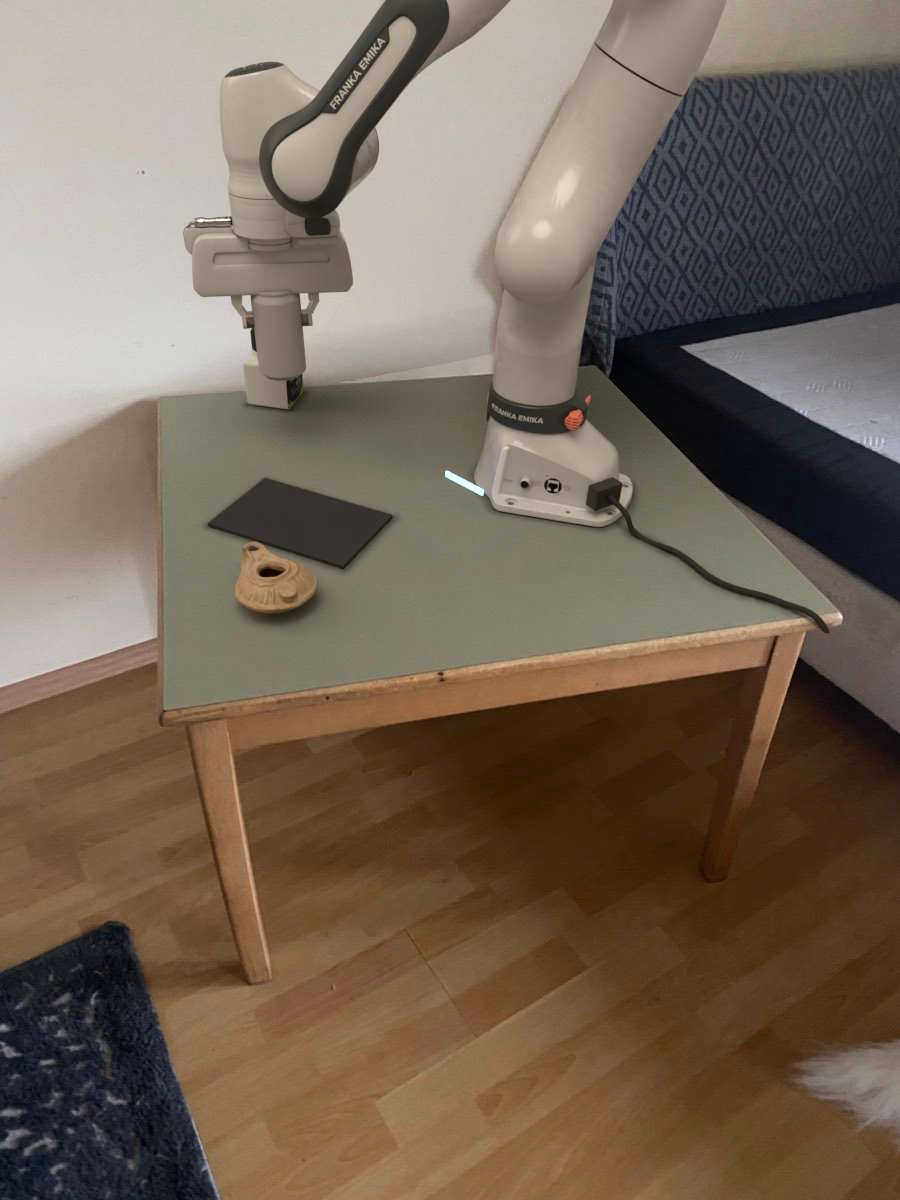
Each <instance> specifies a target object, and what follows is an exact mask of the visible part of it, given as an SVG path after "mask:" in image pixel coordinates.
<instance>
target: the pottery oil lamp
mask: <svg viewBox="0 0 900 1200" xmlns="http://www.w3.org/2000/svg"><path fill="white" fill-rule="evenodd" d="M239 562H240V569H239V570H240V571H239V576H238V579H237V581H236V583H235V585H234V598H235V600H237V602H238V603H239V604H240V605H241V606H243V607H245V608H246V609H248V610H251V611H254V612H256V613H261V614H262V613H263V614H280V613H281V614H282V613H285V612H288V611H291V610H293V609H294V610H295V609H296V608H299V607H300V606H303V605H304V604H305V603H307V602H308V601H309V600H310V599H311V598H312V597H314V595H315V594H316V592H317V588H318V582H319V581H318V579H317V576H316V575H315V573H312V572H311V571H310V570H309V569H307V568H306V567H304V566H303V565H302V564H300V563H298V562H295V561H293V560H290V559H288V558H284V557H280V556H277V555H275V554H274V553H272V552H271V551H269V549H268V548H266V546H265V544H263V543H260V542H257V541H249V542H246V543H245V544H244V545H243V546H242V549H241V554H240V559H239Z"/></svg>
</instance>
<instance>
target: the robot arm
mask: <svg viewBox="0 0 900 1200" xmlns="http://www.w3.org/2000/svg"><path fill="white" fill-rule="evenodd" d="M510 2H511V0H381V2H380V3H379V5H378V7H377V9H376V10H375V12H374V14H373V16H372V18H371V19H370V21H369V22H368V24H367V25H366V27H365V28H364V29H363V31H362V32H361V33H360V35H359V37H358V38H357V39H356V40H355V42H354V43H353V45H352V46H351V48H350V49H349V50H348V52H347V53H346V55H344V57H343V59H342V60H341V62H340V63H339V64H338V65H337V67H336V68H335V69H334V71H333V73H332V74H331V75H330V77H329V78H328V79H327V81H326V82H325V84H324V85H323V86H322V88H321V89H318V88H316V87H315V86H313V85H311V84H309V83H308V82H306V81H304V80H303V79H301V78H300V77H299V76H297V75H296V74H295V73H294V72H293V71H292V70H291V69H290V68H289V67H288V66H287V65H286V64H285V63H281V62H279V61H264V62H258V63H252V64H248V65H245V66H241V67H237V68H234V69H233V70H230V71H229V72H227V73H226V75H225V76H224V77H223V78H222V79H221V84H220V86H219V87H220V88H219V121H220V134H221V135H220V136H221V144H222V153H223V155H224V158H225V160H226V162H227V166H228V182H227V194H228V201H229V202H228V203H229V208H230V216H217V217H215V216H214V217H204V216H203V217H202V216H200V217H199V216H198V217H194V218H193V220H192V221H190V222H188V223H186V225H185V226H184V228H183V231H182V232H183V233H182V234H183V241H184V246H185V247H184V248H185V249H186V251H187V252H188V254H189V255H191V275H192V276H191V277H192V286H193V290H194V292H196V294H197V295H198V296H199V297H201V298H213V297H217V298H219V297H230V302H231V305H232V307H233V308H234V310H235V311H236V312H237V313H238V315H239V316H240V317H241V321H242V328H243V329H244V330H249V329H252V328H255V327H254V322H253V321H254V319H253V314H252V310H251V311H250V310H247V309H246V308H245V306H244V305H243V297H245V296H251V295H258V294H257V292H260V293H261V292H280V291H288V292H289V291H292V294H300V295H302V294H307V298H308V301H309V302H308V304H307V306H306V307H305V308H303V309H302V308H301V319H302V326H303V327H312V326H314V325H313V324H314V323H313V314H314V312H315V310H316V308H317V306H318V304H319V302H320V294H326V293H348V292H349V291H350V290H351V288H352V287H353V286H354V277H353V268H352V262H351V256H350V251H349V248H348V244H347V242H346V238H345V236H344V234H343V233H342V231H341V217H340V214H339V212H338V211H337V209H338V208H339V206H340V204H341V203H342V202H343V201H344V200H345V198H346V197H347V196H348V195H349V194H351V192H353V191H354V190H355V189H356V188H357V187H358V186H360V184H362V183H363V182H364V181H365V180H366V179H367V177H369V175H370V174H371V173H372V171H373V170H374V168H375V166H376V164H377V162H378V159H379V154H380V140H379V136H378V132H377V131H378V130H377V128H376V127H377V126H378V125H379V123H380V122H381V121H382V119H383V118H384V117H385V115H386V114H387V113H388V111H389V110H390V109H391V108H392V107H393V105H394V104H395V102H396V101H397V100H398V98H399V97H400V96H401V95H402V93H403V92H404V91H405V90H406V88H407V87H408V86H409V85H410V84H411V83H412V82H413V80H414V79H415V78H417V76H419V75H420V74H421V73H422V72H424V70H425V69H426V68H428V67H429V66H430V65H432V64H433V63H434V62H436V61H437V60H438V59H440V58H441V57H443V56H445V55H446V54H447V53H448V54H449V52H451V51H452V50H455V49H456V48H457V47H459V46H461V45H462V44H464V43H466V42H467V41H469V40H470V39H472V38H474V36H475V35H477V34H479V32H480V31H481V30H483V29H484V28H485V27H486V26H487V25H488V24H489V23H490V22H491V21H492V20H494V18H495V17H497V15H499V14H500V13H501V11H503V10H504V8H505V7H506V6H507V5H508V4H509V3H510ZM726 5H727V0H612V3H611V6H610V8H609V11H608V13H607V15H606V17H605V19H604V21H603V23H602V25H601V27H600V29H599V31H598V33H597V35H596V37H595V38H594V41H593V43H592V45H591V47H590V49H589V51H588V53H587V56H586V57H585V59H584V61H583V63H582V65H581V68H580V69H579V71H578V74H577V75H576V77H575V80H574V81H573V84H572V86H571V88H570V90H569V92H568V94H567V96H566V98H565V100H564V102H563V104H562V107H561V109H560V111H559V112H558V114H557V116H556V118H555V120H554V122H553V124H552V126H551V128H550V129H549V132H548V133H547V136H546V137H545V140H544V141H543V143H542V145H541V148H540V149H539V151H538V153H537V154H536V158H535V159H534V161H533V163H532V164H531V167H530V168H529V170H528V173H527V174H526V176H525V178H524V180H523V182H522V184H521V186H520V188H519V190H518V191H517V194H516V195H515V198H514V200H513V202H512V203H511V206H510V207H509V210H508V211H507V213H506V215H505V217H504V220H503V222H502V224H501V226H500V228H499V230H498V233H497V236H496V240H495V248H494V263H495V270H496V276H497V278H498V280H499V283H500V284H501V286H502V287H503V293H502V300H501V305H500V310H499V315H498V321H497V324H496V325H497V326H496V336H495V350H494V361H493V374H492V381H490V383H489V386H488V392H487V398H486V422H487V427H486V428H487V429H486V432H485V438H484V443H483V445H482V450H481V454H480V457H479V460H478V463H477V464H476V468H475V469H474V472H473V481H474V483H472V482H470V481H468V480H466V479H464V478H462V477H460V476H458V475H456V474H454V473H452V472H451V471H449V470H445V473H444V474H445V475H444V476H445V478H447V479H449V480H451V481H453V482H455V483H456V484H458V485H461V486H462V487H464V488H466V489H467V490H470V491H472V492H474V493H475V494H478V495H479V496H481V497H482V496H484V495H486V496H487V497H488V498H489V502H490V504H491V506H492V508H493V509H494V510H496V511H498V512H502V513H508V514H515V515H522V516H527V517H532V518H540V519H546V520H551V521H558V522H564V523H569V524H576V525H582V526H590V527H594V528H603V527H607V526H609V525H611V524H613V523H615V522H616V521H617V520H619V519H621V517H622V516H623V518H624V519H625V522H626V525H627V530H628V531H629V532H630V534H631V535H633V537H635V538H636V539H637V540H639V541H642V542H644V543H646V544H648V545H650V546H652V547H654V548H657V549H659V550H662V551H665V552H668V553H671V554H672V555H675V556H676V557H678V558H679V559H681V560H682V561H684V562H685V563H687V564H688V565H689V566H690V567H692V569H694V570H695V571H696V572H697V573H699V574H700V575H701V576H703V577H704V578H705V579H707V580H709V581H710V582H712V583H714V584H715V585H718V586H719V587H721V588H724V589H726V590H730V591H733V592H735V593H738V594H742V595H747V596H751V597H755V598H759V599H762V600H765V601H768V602H771V603H774V604H777V605H779V606H781V607H784V608H787V609H790V610H793V611H797V612H799V613H801V614H804V615H806V616H808V617H809V618H810V619H812V620H813V621H814V622H815V623H816V624H817V625H818V627H819V629H820V630H821V632H823V633H824V634H830V633H831V632H830V629H829V627H828V625H827V624H826V622H825V620H823V619H822V617H821V616H820V615H819V614H817V612H815V611H814V610H811V609H810V608H807V607H805V606H803V605H800V604H798V603H794V602H791V601H788V600H785V599H783V598H780V597H778V596H775V595H772V594H770V593H769V594H768V593H765V592H761V591H758V590H755V589H750V588H746V587H743V586H739V585H736V584H732V583H730V582H727V581H724V580H723V579H720V578H719V577H717V576H716V575H713V574H712V573H711V572H709V571H707V570H706V569H705V568H704V567H702V566H701V565H700V564H699V563H698V562H696V561H695V560H694V559H692V558H691V557H690V556H688V554H686V553H684V552H682V551H681V550H679V549H677V548H676V547H673V546H670V545H667V544H665V543H662V542H659V541H655V540H652V539H650V538H648V537H647V536H645V535H643V534H642V533H640V532H639V531H638V530H637V529H636V528H635V526H634V524H633V520H632V517H631V515H630V513H629V512H628V508H629V506H630V504H631V503H632V499H633V491H634V486H633V483H632V480H631V478H630V477H629V476H627V475H626V474H623V473H621V472H620V466H621V465H620V455H619V451H618V450H617V448H616V445H614V444H613V443H612V442H611V441H610V440H608V439H607V438H606V437H605V435H603V434H602V433H601V432H600V431H599V430H598V429H597V428H596V427H595V426H594V425H593V424H592V423H591V422H590V421H589V420H588V419H587V416H588V410H589V406H590V403H591V396H592V395H591V394H588V395H587V397H586V398H585V399H584V397H583V396H582V395H581V394H580V392H579V391H578V388H577V381H578V374H579V368H580V359H581V353H582V346H583V338H584V333H585V327H586V322H587V315H588V310H589V304H590V299H591V293H592V287H593V281H594V275H595V269H596V263H597V257H598V252H599V251H600V249H601V247H602V245H603V243H604V241H605V239H606V238H607V235H608V234H609V232H610V230H611V228H612V227H613V225H614V223H615V221H616V219H617V217H618V216H619V213H620V212H621V210H622V208H623V206H624V204H625V203H626V201H627V199H628V197H629V195H630V194H631V191H632V190H633V188H634V186H635V184H636V182H637V180H638V179H639V176H640V174H641V172H642V171H643V168H644V167H645V165H646V163H647V162H648V160H649V158H650V157H651V155H652V153H653V151H654V150H655V147H656V146H657V144H658V142H659V141H660V139H661V137H662V135H663V134H664V132H665V130H666V128H667V126H668V124H669V123H670V121H671V119H673V116H674V114H675V112H676V111H677V109H678V107H679V105H680V104H681V102H682V100H683V98H684V97H685V95H686V93H687V91H688V90H689V88H690V86H691V84H692V82H693V81H694V79H695V77H696V74H697V73H698V70H699V69H700V67H701V65H702V63H703V61H704V58H705V57H706V54H707V52H708V49H709V48H710V45H711V43H712V41H713V38H714V36H715V34H716V31H717V29H718V26H719V23H720V22H721V21H720V20H721V19H722V15H723V12H724V10H725V7H726Z"/></svg>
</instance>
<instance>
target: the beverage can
mask: <svg viewBox="0 0 900 1200" xmlns="http://www.w3.org/2000/svg"><path fill="white" fill-rule="evenodd" d="M257 294H258V295H250V297H249V298H250V305H251V311H252V314H253V319H254V321H253V322H254V327H255V328H254V331H255V339H256V348H257V356H258V364H259V371H260V373H261V374H263V375H264V376H265V377H266V378H268V379H270V380H274V381H287V380H292V379H295V378H298V377H299V376H300V375H301V374H302V375H303V374H304V372H306V369H307V360H306V350H305V336H304V326H302V319H301V309H302V303H301V294H292V291H289V292H288V291H280V292H261V293H260V292H257Z"/></svg>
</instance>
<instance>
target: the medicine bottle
mask: <svg viewBox="0 0 900 1200" xmlns="http://www.w3.org/2000/svg"><path fill="white" fill-rule="evenodd" d="M249 331H250V332H249V333H250V342H251V352H252V354H251V355H250V356H249V357H248V358H247V359H246V360H245V361H244V362H243V364H242V367H243V377H244V385H245V392H246V403H247V404H248V405H251V406H258V407H265V408H272V409H279V410H290V409H291V408H292V407H293V405H294V404H295V403H296V401H297V400H299V398H300V396H301V395H302V394H303V393H304V379H303V378H304V377H303V373H302V374H301V375H300V376H299V377H298V378H295V379H292V380H287V381H274V380H270V379H268V378H266V377H265V376H264V375H263V374H261V373H260V371H259V364H258V356H257V348H256V339H255V331H254V328H250V330H249Z"/></svg>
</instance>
